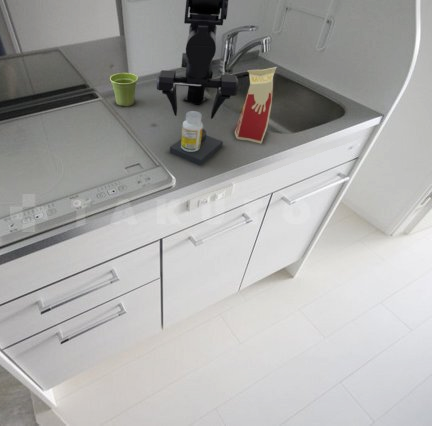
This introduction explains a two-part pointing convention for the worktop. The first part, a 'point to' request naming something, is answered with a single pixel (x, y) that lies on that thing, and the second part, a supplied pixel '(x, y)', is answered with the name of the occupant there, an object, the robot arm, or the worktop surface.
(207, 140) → the scale
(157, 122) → the worktop surface
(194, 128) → the supplement bottle
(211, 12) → the robot arm
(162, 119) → the worktop surface
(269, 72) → the red snack bag
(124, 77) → the plant pot
